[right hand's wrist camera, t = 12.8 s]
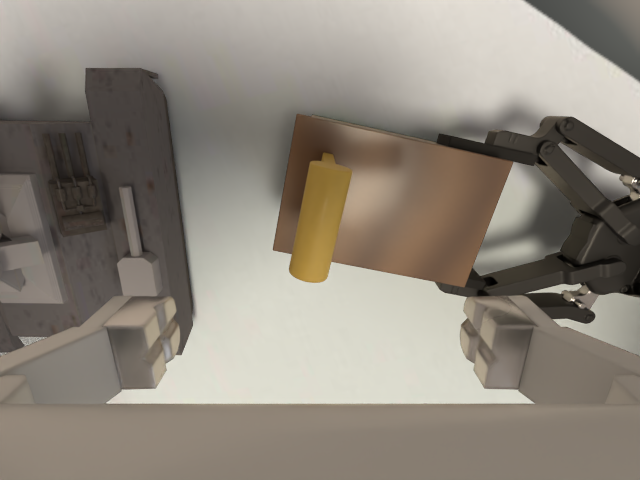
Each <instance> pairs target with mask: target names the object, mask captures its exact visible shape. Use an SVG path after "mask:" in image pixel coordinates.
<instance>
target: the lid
mask: <svg viewBox="0 0 640 480" xmlns="http://www.w3.org/2000/svg"><path fill="white" fill-rule="evenodd" d="M512 164H513V161H509V160H505V159H500V158H496V157H491V156H487V155H482V154H478V153H473V152H469V151H464V150H460V149H455V148H451V147H446V146H442V145H437V144H433V143H428V142H424V141H419V140H415V139H410V138H405V137H401V136H396V135H392V134H387V133H383V132H378V131H374V130H369V129H365V128H360V127H356V126H351V125H347V124H342V123H338V122H333V121H329V120H324V119H320V118H315V117H310V116H306V115H301V114H297V115H296V121H295V126H294V132H293V138H292V144H291V149H290V155H289V161H288V166H287V172H286V178H285V183H284V189H283V195H282V200H281V206H280V212H279V217H278V223H277V229H276V234H275V240H274V246H273V250H274V251H279V252H284V253H289V254H292V256H291V261H290V266H289V272H290V273H291V275H292V276H294V277H295V278H297V279H299V280H302V281H306V282H312V283H318V282H323V281H325V280H326V279H327V277H328V273H329V268H330V264H331V262H336V263H341V264H346V265H351V266H357V267H362V268H367V269H372V270H377V271H382V272H388V273H393V274H398V275H403V276H408V277H413V278H419V279H424V280H429V281H434V282H439V283H444V284H450V285H455V286H460V287H465V285H466V282H467V279H468V277H469V274H470V272H471V269H472V267H473V264H474V262H475V259H476V256H477V254H478V251H479V249H480V246H481V244H482V241H483V239H484V236H485V233H486V231H487V228H488V226H489V223H490V221H491V218H492V215H493V213H494V210H495V208H496V205H497V203H498V200H499V198H500V195H501V192H502V190H503V187H504V185H505V182H506V180H507V177H508V174H509V172H510V169H511V167H512Z"/></svg>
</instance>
